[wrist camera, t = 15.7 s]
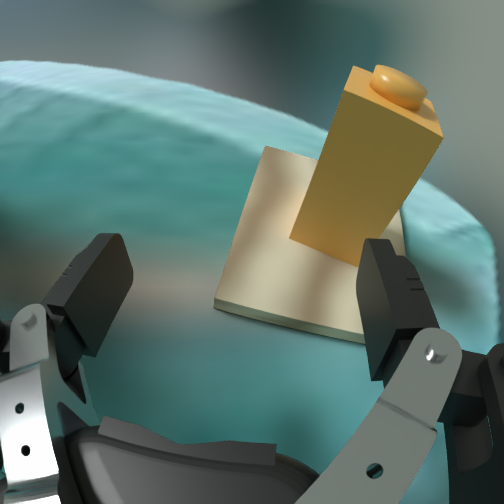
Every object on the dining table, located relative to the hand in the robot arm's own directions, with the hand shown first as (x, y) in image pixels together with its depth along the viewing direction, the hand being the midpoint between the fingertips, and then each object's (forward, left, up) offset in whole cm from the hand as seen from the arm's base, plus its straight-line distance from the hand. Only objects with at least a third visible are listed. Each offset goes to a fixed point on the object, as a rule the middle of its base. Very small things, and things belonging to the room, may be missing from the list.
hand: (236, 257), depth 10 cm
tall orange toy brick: (+6, +11, -9) cm, 16 cm away
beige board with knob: (+6, +11, -11) cm, 17 cm away
